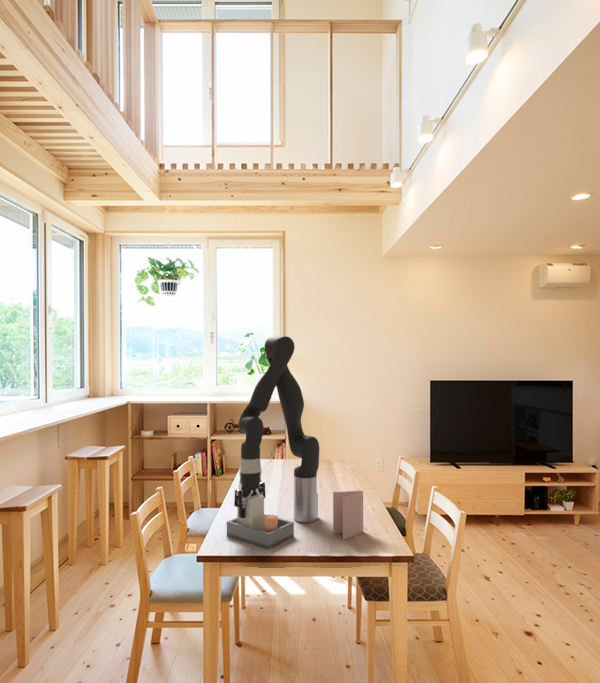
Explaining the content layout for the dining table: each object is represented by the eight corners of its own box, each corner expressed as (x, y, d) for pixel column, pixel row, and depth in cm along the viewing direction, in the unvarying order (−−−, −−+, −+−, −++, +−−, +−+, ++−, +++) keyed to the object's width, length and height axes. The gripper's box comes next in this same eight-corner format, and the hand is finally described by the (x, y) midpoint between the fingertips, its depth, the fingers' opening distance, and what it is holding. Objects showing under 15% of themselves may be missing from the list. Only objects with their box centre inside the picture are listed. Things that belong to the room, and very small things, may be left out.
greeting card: (362, 530, 169) (362, 490, 170) (368, 538, 162) (368, 496, 162) (332, 532, 168) (332, 491, 168) (337, 540, 160) (337, 497, 161)
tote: (252, 524, 175) (252, 511, 176) (293, 536, 164) (293, 522, 164) (226, 535, 164) (226, 521, 164) (268, 549, 152) (268, 534, 153)
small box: (264, 531, 165) (264, 495, 166) (251, 536, 161) (251, 499, 161) (249, 526, 171) (249, 491, 171) (236, 530, 166) (236, 495, 166)
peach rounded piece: (262, 534, 162) (264, 514, 163) (276, 534, 162) (278, 515, 163) (262, 539, 157) (263, 518, 158) (276, 540, 158) (278, 519, 158)
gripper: (255, 464, 174) (255, 507, 174) (229, 472, 163) (229, 518, 162) (270, 467, 170) (270, 511, 169) (244, 475, 158) (244, 522, 158)
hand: (250, 514), depth 166 cm, fingers open, 8 cm apart
